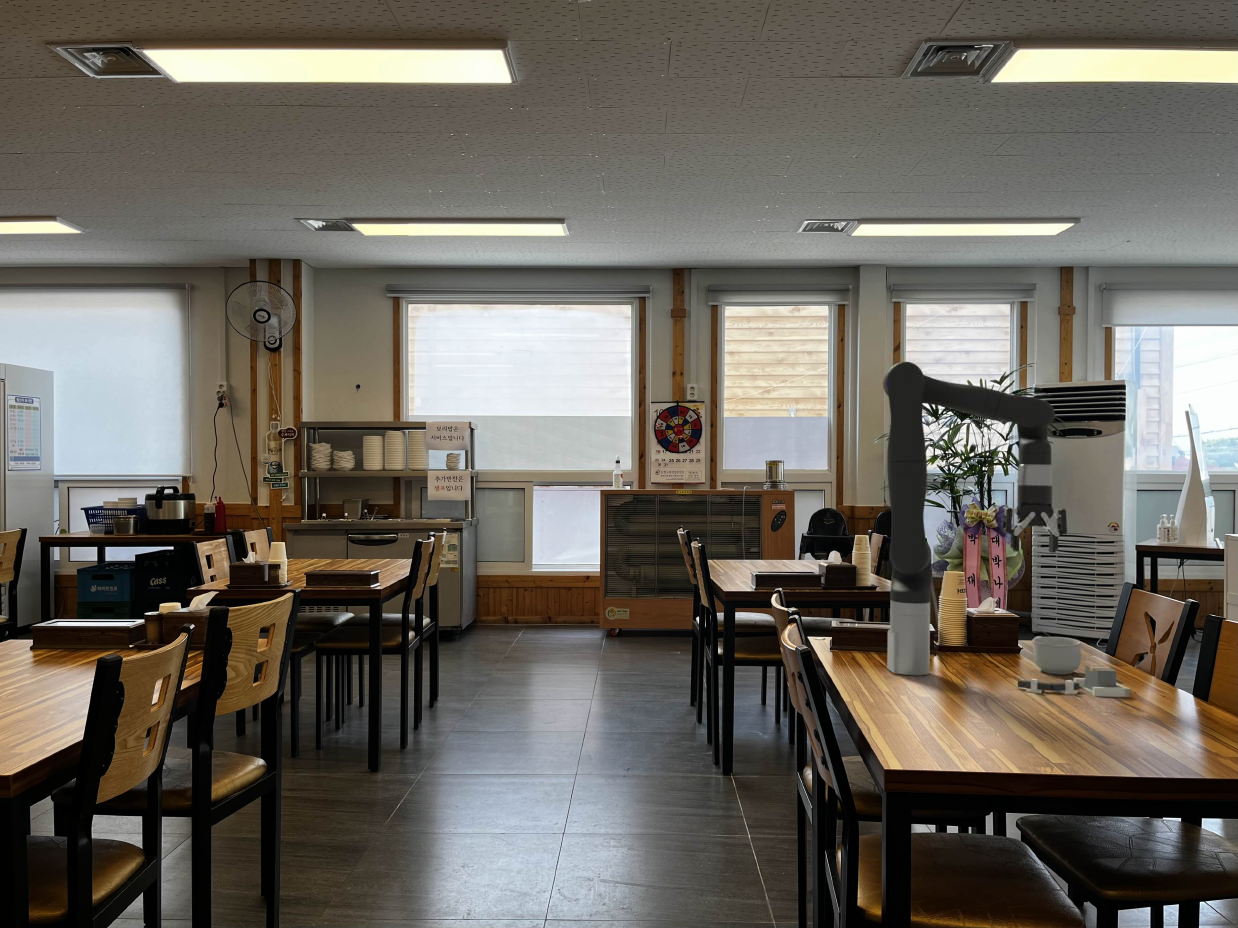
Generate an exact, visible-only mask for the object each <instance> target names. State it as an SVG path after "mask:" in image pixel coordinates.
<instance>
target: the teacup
mask: <svg viewBox="0 0 1238 928" xmlns="http://www.w3.org/2000/svg"><path fill="white" fill-rule="evenodd" d="M1031 642H1032V649H1033V650H1032V651H1033V660H1034V663H1035V665H1036V667H1038V668H1039V669H1040V670H1041V671H1042V672H1044V673H1046V674H1050V675H1063V676H1064V675H1071V674H1073V673H1074V672H1075V671H1076V670H1077V669H1079V667H1080V666H1081V659H1082V654H1081V650H1082V648H1081V647H1082V646H1081V645H1082V642H1081V641H1080V640H1078V639H1075V638H1070V637H1063V636H1035V637H1034V638H1033V639H1032V641H1031Z"/></svg>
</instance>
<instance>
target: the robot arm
mask: <svg viewBox="0 0 1238 928" xmlns="http://www.w3.org/2000/svg"><path fill="white" fill-rule="evenodd" d="M883 377H884V378H883V382H882V388H883V390H884V393H885V395H887V397H888V401H889V402H888V403H889V404H888V405H889V412H890V427H889V428H890V429H889V435H888V440H887V441H888V443H887V453H886V455H887V456H886V467H887V468H886V469H887V470H886V471H887V483H888V485H887V487H888V496H889V502H890V503H889V505H890V508H891V509H890V511H891V531H890V533H891V537H890V543H889V544H890V546H889V559H890V562H891V565H892V566H891V585H890V591H889V592H890V594H889V595H890V597H889V598H890V601H889V602H890V605H889V606H890V607H889V608H890V612H889V613H890V616H889V617H890V618H889V619H890V621H889V622H890V623H889V629H888V630H887V655H886V656H887V659H886V663H887V666H886V669H887V670H888V671H890V672H892V674H896V675H897V674H898V675H899V674H900V675H903V676H904V675H906V676H925V675H929V674H930V667H931V665H930V656H931V655H930V646H931V643H930V641H931V639H930V637H931V634H930V633H931V628H930V627H931V591H932V561H933V560H932V550H931V547H930V545H929V543H928V541H927V538H926V532H925V531H926V530H925V521H924V515H925V514H924V512H925V504H926V503H925V502H926V496H927V489H928V488H927V486H928V463H927V449H926V440H925V433H924V432H925V431H924V423H923V404H927V405H933V406H938V407H943V408H947V409H951V410H954V411H959V412H962V413H966V414H969V415H973V416H976V417H981V418H984V419H989V420H993V421H997V422H999V421H1000V422H1010V423H1013V424H1016V429H1017V435H1018V437H1017V438H1018V443H1019V444H1018V445H1019V450H1018V471H1017V480H1016V484H1017V506H1016V508H1011V507H1004V508H1003V511H1002V512H1003V513H1002V524H1001V525H1002V527H1001V529H1002V530H1001V531H1002V532H1003V533H1005V534H1008V535H1009V536H1010V541H1009V542H1010V544H1009V545H1010V549H1011V550H1012V552H1015V553H1016V552H1017V553H1019V552H1020V536H1019V535H1020V533H1021V532H1022V531H1023V530H1024V529H1025V528H1026V527H1043V528H1044V529H1045V530H1046V531H1047V533H1048V534H1049V535H1050V536H1048V551H1049V553H1054V554H1055V553H1056V552H1057V551H1058V549H1059V537H1060V536H1061V535H1067V533H1068V521H1067V510H1066V509H1065V508H1057V509H1054V508H1053V506H1052V505H1053V470H1052V469H1053V468H1052V446H1051V442H1049V440H1048V427H1049V426H1050V425H1051V424H1052V423H1053V422H1054V420H1055V416H1056V414H1055V413H1056V412H1055V409H1054V406H1052V404H1051V403H1049V402H1048V401H1046V400H1044V399H1041V398H1040V399H1039V398H1035V397H1031V396H1024V395H1019V394H1018V395H1017V394H1016V395H1015V394H1010V393H1007V392H1004V391H1001V390H998V389H997V390H996V389H993V388H990V387H989V388H988V387H983V386H979V385H972V384H964V383H955V382H949V381H946V380H939V379H937V378H933V377H930V376H927V375H925V374H924V373H923V371H922V369H921V368H920V367H919V366H918V365H917V364H916V363H913V362H911V361H900V362H898V363H895V364H894V365H893V366H891V367H890V368H889V369H888V371H887V372H886V373H885V375H884V376H883ZM1015 515H1016V516H1017V517H1018V520H1017V521H1016V522H1015V524H1014V525H1013V527H1012V523H1013V518H1014V517H1015ZM1053 516H1054V517H1055V518H1056V526H1055V524H1054V523H1053V522H1052V521H1051V518H1052V517H1053ZM1056 527H1057V528H1056Z"/></svg>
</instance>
